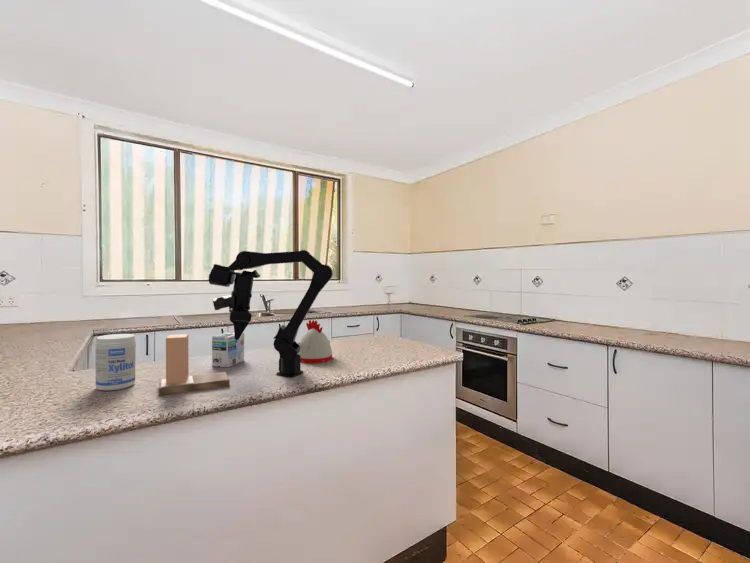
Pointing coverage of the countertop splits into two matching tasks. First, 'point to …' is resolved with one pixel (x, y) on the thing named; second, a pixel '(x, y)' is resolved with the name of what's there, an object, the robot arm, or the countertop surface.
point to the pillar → (177, 359)
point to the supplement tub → (115, 361)
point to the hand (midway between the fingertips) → (236, 335)
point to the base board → (195, 383)
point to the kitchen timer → (314, 345)
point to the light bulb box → (227, 349)
